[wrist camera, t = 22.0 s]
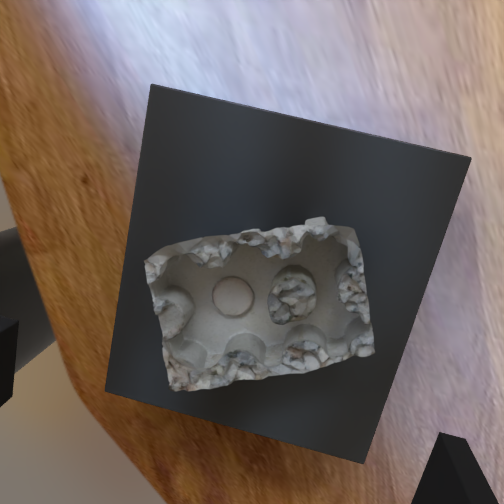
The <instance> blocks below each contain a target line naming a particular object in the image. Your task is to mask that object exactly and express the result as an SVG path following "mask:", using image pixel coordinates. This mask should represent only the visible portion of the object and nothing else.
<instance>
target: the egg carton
mask: <svg viewBox="0 0 504 504" xmlns="http://www.w3.org/2000/svg"><path fill="white" fill-rule="evenodd" d="M144 266H145V270H146V277H147V284H148V285H149V287H150V290H151V294H152V299H153V309H154V313H155V315H158V317H159V322H160V326H161V329H162V334H163V337H162V350H163V358H164V362H165V366H166V369H167V375H168V380H169V388H168V389H169V390H170V391H175V392H176V391H180V390H186V391H196V390H199V389H213V388H218V387H222V386H227V385H229V384H231V383H232V382H233V381H236V380H251V379H252V380H260V379H264V378H266V377H268V376H276V375H284V374H296V373H306V372H309V371H312V370H316V369H319V368H322V367H326V366H328V365H330V364H333V363H336V362H341V361H344V360H346V359H348V358H350V357H352V356H354V355H356V356H359V357H366V356H370V355H372V354H374V353H375V350H374V336H373V328H372V323H370V313H369V301H368V297H367V290H366V283H365V277H364V270H363V267H364V263H363V258H362V253H361V249H360V245H359V241H358V238H357V236H356V233H355V230H354V229H353V228H351V227H345V226H337V225H328V223H327V222H326V219H325V217H317V218H312V219H308V220H306V221H305V225H297V226H292V227H290V228H286V227H279V228H275V229H272V230H270V231H266V232H261V230H260V229H251V230H246V231H242V232H241V233H238V234H230V235H218V236H206V237H201V238H197V239H192V240H188V241H184V242H180V243H176V244H172V245H168V246H165V247H163V248H161V249H159V250H158V251H157V252H155V253H154V254H153V255H152V256H150V257H149V258H148V259H146V260H144Z"/></svg>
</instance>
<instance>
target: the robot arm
mask: <svg viewBox="0 0 504 504" xmlns="http://www.w3.org/2000/svg"><path fill="white" fill-rule="evenodd" d="M18 325H19V321H18V320H14V319H11V318H7V317H3V316H0V407H1V406H2V405H3V404H4V403H6V402H7V401H8V400H9V399H10V398H11V397H12V395H13V382H14V371H15V360H16V348H17V337H18ZM411 504H499V503H498V501H497V499H496V497H495V495H494V493H493V492H492V490H491V488H490V486H489V484H488V482H487V480H486V478H485V476H484V474H483V472H482V470H481V468H480V466H479V464H478V462H477V460H476V458H475V457H474V455H473V453H472V451H471V449H470V447H469V445H468V443H467V441H466V439H464V438H460V437H456V436H452V435H449V434H445V433H441V432H439V435H438V437H437V440H436V442H435V445H434V447H433V450H432V452H431V455H430V457H429V460H428V462H427V465H426V467H425V470H424V472H423V475H422V477H421V480H420V482H419V485H418V488H417V490H416V493H415V495H414V498H413V500H412V503H411Z"/></svg>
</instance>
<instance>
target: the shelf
mask: <svg viewBox="0 0 504 504" xmlns="http://www.w3.org/2000/svg"><path fill="white" fill-rule="evenodd" d="M471 159H472V158H471V157H468V156H463V155H459V154H455V153H450V152H446V151H442V150H437V149H433V148H429V147H424V146H420V145H416V144H411V143H407V142H403V141H398V140H394V139H390V138H385V137H381V136H377V135H372V134H368V133H364V132H359V131H355V130H351V129H346V128H342V127H338V126H333V125H329V124H325V123H320V122H316V121H312V120H307V119H303V118H299V117H294V116H290V115H286V114H281V113H277V112H273V111H268V110H264V109H260V108H255V107H251V106H247V105H242V104H238V103H234V102H229V101H225V100H221V99H216V98H212V97H208V96H203V95H199V94H195V93H190V92H186V91H182V90H177V89H173V88H169V87H164V86H160V85H156V84H151V86H150V93H149V99H148V106H147V112H146V119H145V126H144V132H143V139H142V146H141V152H140V159H139V166H138V172H137V179H136V186H135V192H134V199H133V205H132V212H131V219H130V225H129V232H128V239H127V245H126V252H125V259H124V265H123V272H122V279H121V285H120V292H119V299H118V305H117V312H116V318H115V325H114V332H113V338H112V345H111V352H110V358H109V365H108V372H107V378H106V385H105V392H109V393H112V394H116V395H119V396H123V397H126V398H130V399H133V400H137V401H141V402H144V403H148V404H151V405H155V406H158V407H162V408H165V409H169V410H172V411H176V412H180V413H183V414H187V415H190V416H194V417H197V418H201V419H204V420H208V421H212V422H215V423H219V424H222V425H226V426H229V427H233V428H236V429H240V430H243V431H247V432H251V433H254V434H258V435H261V436H265V437H268V438H272V439H275V440H279V441H283V442H286V443H290V444H293V445H297V446H300V447H304V448H307V449H311V450H314V451H318V452H322V453H325V454H329V455H332V456H336V457H339V458H343V459H346V460H350V461H354V462H357V463H361V464H364V462H365V459H366V456H367V453H368V451H369V448H370V445H371V442H372V439H373V436H374V434H375V431H376V428H377V425H378V422H379V419H380V417H381V414H382V411H383V408H384V405H385V403H386V400H387V397H388V394H389V391H390V388H391V386H392V383H393V380H394V377H395V374H396V371H397V369H398V366H399V363H400V360H401V357H402V354H403V352H404V349H405V346H406V343H407V340H408V337H409V335H410V332H411V329H412V326H413V323H414V320H415V318H416V315H417V312H418V309H419V306H420V303H421V301H422V298H423V295H424V292H425V289H426V287H427V284H428V281H429V278H430V275H431V272H432V270H433V267H434V264H435V261H436V258H437V255H438V253H439V250H440V247H441V244H442V241H443V238H444V236H445V233H446V230H447V227H448V224H449V221H450V219H451V216H452V213H453V210H454V207H455V204H456V202H457V199H458V196H459V193H460V190H461V187H462V185H463V182H464V179H465V176H466V173H467V171H468V168H469V165H470V162H471ZM317 217H325V219H326V222H327V223H328V225H337V226H345V227H351V228H353V229H354V230H355V233H356V236H357V238H358V241H359V245H360V249H361V253H362V258H363V263H364V267H363V270H364V277H365V283H366V290H367V297H368V301H369V313H370V323H372V328H373V336H374V350H375V353H374V354H372V355H370V356H366V357H359V356H356V355H354V356H352V357H350V358H348V359H346V360H344V361H341V362H336V363H333V364H330V365H328V366H326V367H322V368H319V369H316V370H312V371H309V372H306V373H296V374H284V375H276V376H268V377H266V378H264V379H260V380H252V379H251V380H236V381H233V382H232V383H231V384H229V385H227V386H222V387H218V388H213V389H199V390H196V391H186V390H180V391H176V392H175V391H170V390H169V389H168V388H169V380H168V375H167V369H166V366H165V362H164V358H163V350H162V337H163V334H162V329H161V326H160V322H159V317H158V315H155V313H154V309H153V299H152V294H151V290H150V287H149V285H148V284H147V277H146V270H145V266H144V260H146V259H148V258H149V257H150V256H152V255H153V254H154V253H155V252H157V251H158V250H159V249H161V248H163V247H165V246H168V245H172V244H176V243H180V242H184V241H188V240H192V239H197V238H201V237H206V236H218V235H230V234H238V233H241V232H242V231H246V230H251V229H260V230H261V232H266V231H270V230H272V229H275V228H279V227H286V228H290V227H292V226H297V225H305V221H306V220H308V219H312V218H317Z"/></svg>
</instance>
